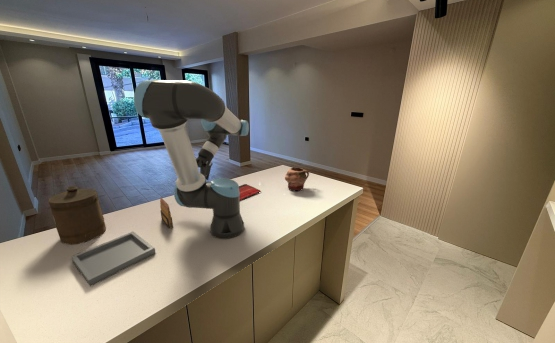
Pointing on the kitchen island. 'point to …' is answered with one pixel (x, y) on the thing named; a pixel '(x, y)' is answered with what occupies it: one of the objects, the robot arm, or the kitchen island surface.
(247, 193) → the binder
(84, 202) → the wooden container
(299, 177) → the brown ceramic jug
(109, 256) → the tray
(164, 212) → the ammunition clip
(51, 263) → the kitchen island surface
